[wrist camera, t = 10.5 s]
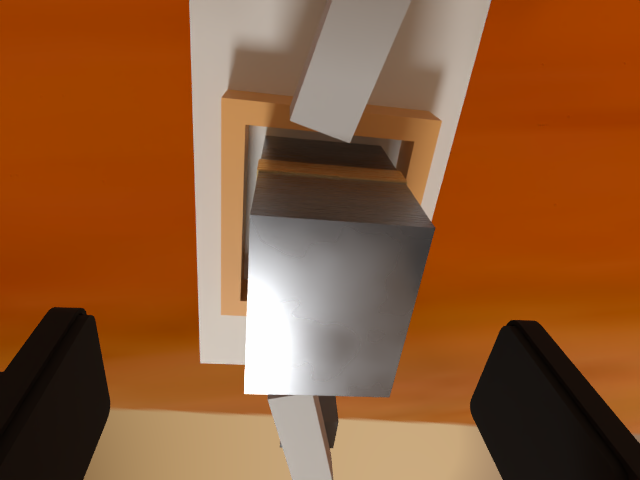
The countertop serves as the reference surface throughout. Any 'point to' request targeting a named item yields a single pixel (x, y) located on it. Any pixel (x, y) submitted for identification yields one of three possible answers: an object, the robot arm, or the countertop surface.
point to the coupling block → (330, 269)
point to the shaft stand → (312, 138)
